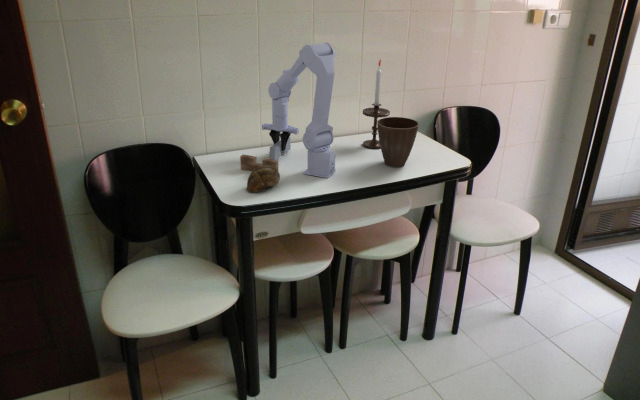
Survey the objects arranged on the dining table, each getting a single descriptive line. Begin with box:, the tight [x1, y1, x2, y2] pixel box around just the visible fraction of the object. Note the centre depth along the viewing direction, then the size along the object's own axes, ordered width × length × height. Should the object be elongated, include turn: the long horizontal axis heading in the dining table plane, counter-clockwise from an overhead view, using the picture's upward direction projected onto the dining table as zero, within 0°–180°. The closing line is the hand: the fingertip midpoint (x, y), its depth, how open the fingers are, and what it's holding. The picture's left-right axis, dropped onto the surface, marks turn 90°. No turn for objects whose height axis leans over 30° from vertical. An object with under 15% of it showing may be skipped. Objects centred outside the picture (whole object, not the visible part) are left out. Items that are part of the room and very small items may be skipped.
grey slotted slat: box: [269, 137, 292, 160], centre depth 195 cm, size 14×2×5 cm, turn 158°
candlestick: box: [362, 59, 391, 150], centre depth 203 cm, size 11×11×35 cm
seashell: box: [245, 165, 281, 193], centre depth 167 cm, size 11×9×8 cm
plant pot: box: [377, 116, 420, 168], centre depth 189 cm, size 15×15×16 cm
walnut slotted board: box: [239, 154, 280, 173], centre depth 181 cm, size 14×2×5 cm, turn 68°
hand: (280, 149), depth 195 cm, fingers closed on grey slotted slat, 2 cm apart
